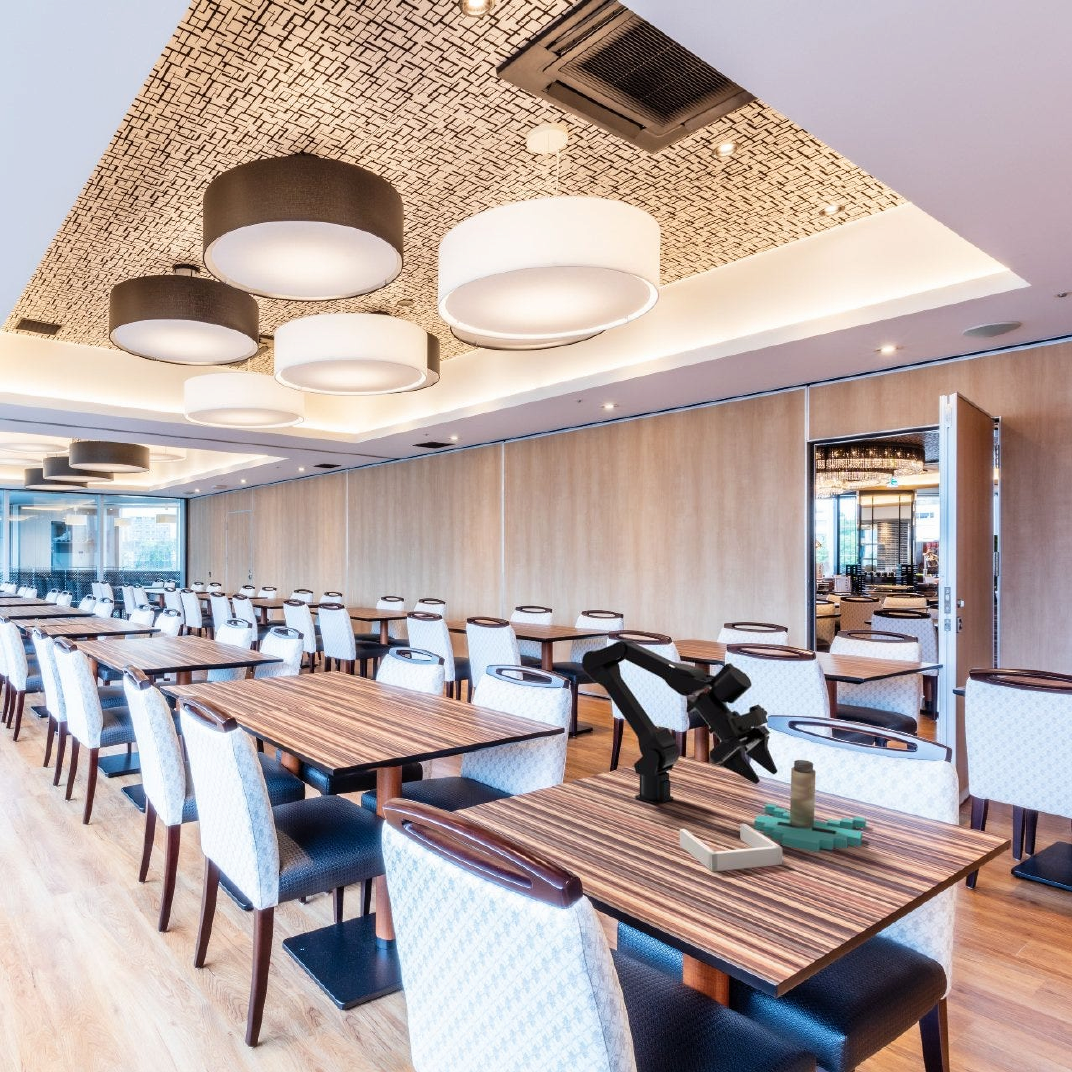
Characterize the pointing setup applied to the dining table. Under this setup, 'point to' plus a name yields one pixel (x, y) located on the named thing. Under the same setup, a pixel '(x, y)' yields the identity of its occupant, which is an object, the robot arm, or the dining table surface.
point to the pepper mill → (802, 794)
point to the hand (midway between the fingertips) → (767, 777)
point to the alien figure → (809, 831)
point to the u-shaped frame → (735, 851)
